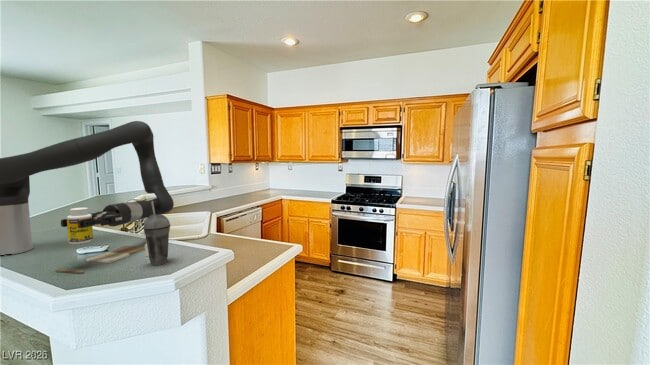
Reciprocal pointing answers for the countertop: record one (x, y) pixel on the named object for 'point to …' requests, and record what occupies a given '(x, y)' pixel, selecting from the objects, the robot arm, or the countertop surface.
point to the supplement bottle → (76, 233)
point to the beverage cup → (157, 237)
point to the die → (146, 250)
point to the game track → (109, 257)
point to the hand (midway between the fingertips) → (70, 224)
